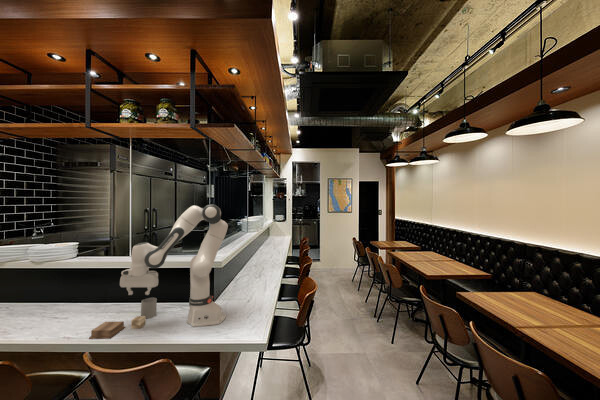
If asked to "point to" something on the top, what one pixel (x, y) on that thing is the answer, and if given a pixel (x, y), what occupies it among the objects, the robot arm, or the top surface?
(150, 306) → the cup
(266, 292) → the top surface
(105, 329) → the walnut pedestal
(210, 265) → the robot arm
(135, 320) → the maple cube
